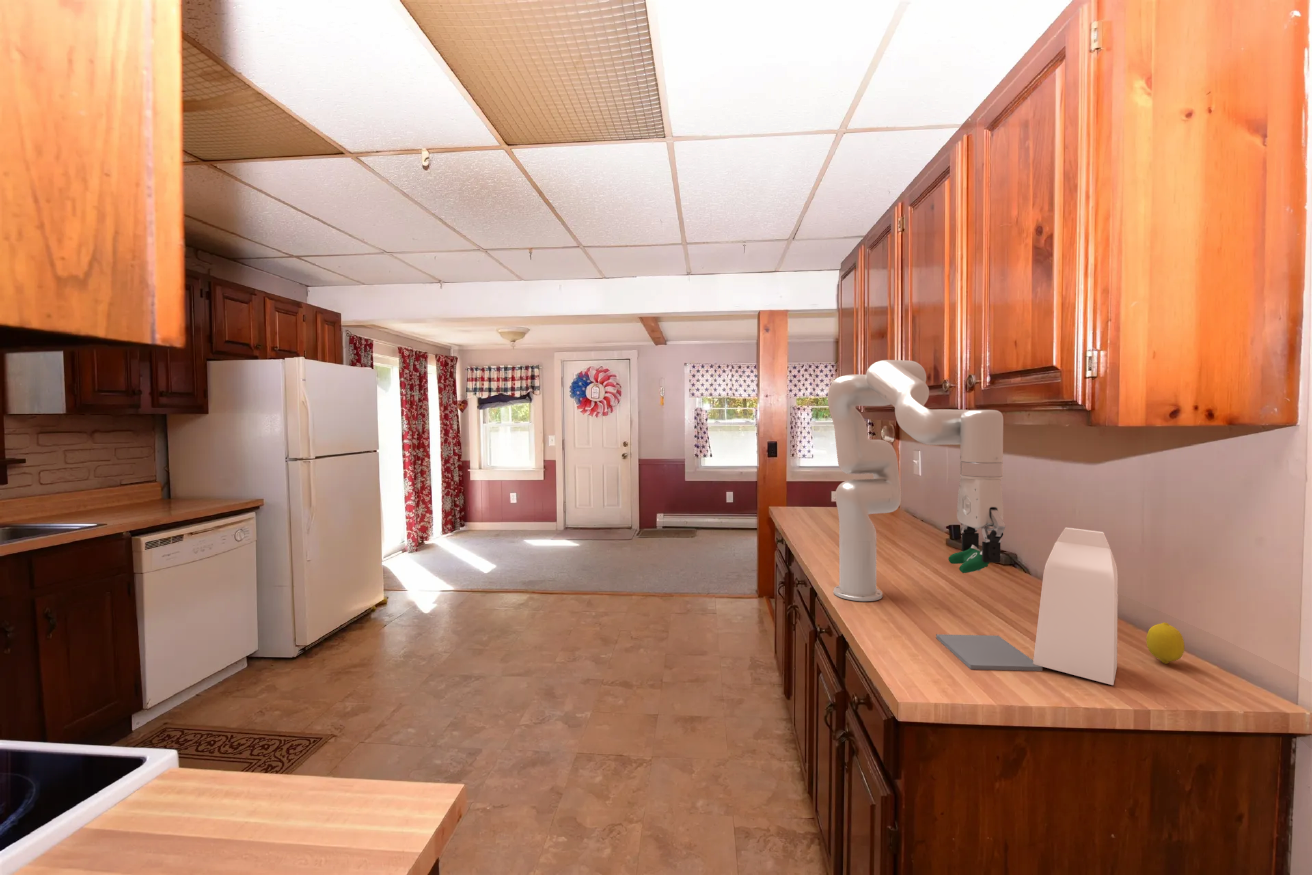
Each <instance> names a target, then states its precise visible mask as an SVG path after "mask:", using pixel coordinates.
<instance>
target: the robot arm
mask: <svg viewBox="0 0 1312 875" xmlns="http://www.w3.org/2000/svg"><path fill="white" fill-rule="evenodd" d="M926 381H927V373H926V371H925V368H924V367H923V366H922V365H921V364H920V363H918V362H917V361H914V360H901V359H883V360H882V359H881V360H878V361H875V362H873V363H872V364H871V365H870V366H869V367H868V369H867V370H866V373H865V374H846V375H841V376H838V377H836V378H835V379H834V380H832V382H831V384H830V386H829V388H828V392H827V406H828V410H829V414H830V416H831V419H832V423H833V428H834V429H833V430H834V436H835V437H834V438H835V447H836V457H837V458H836V459H837V464H838V468H839V469H840V471H841V472H842V473H844V474H846V475H872V478H858V479H857V478H855V479H848V480H845V481H843V482H841V483H840V484H839V485H838V486H837V488H836V489H835V496H834V497H835V503H836V509H837V514H838V526H839V528H838V530H839V533H838V535H839V536H838V538H839V541H838V542H839V545H838V546H839V547H838V548H839V552H838V553H839V554H838V555H839V558H838V560H839V571H838V572H839V585H836V586H835V587H833V594H834V595H835V596H836V597H838V598H841V599H844V600H849V601H855V602H874V601H875V602H876V601H878V600H881V599H882V598H883V592H882V590H880V589H879V588H877V530H876V527H875V525H874V523H873V521H872V520H871V518H870V516H869V515H872V514H873V515H875V514H887V513H893V512H895V511H896V510H898V509H899V507H900V505H901V502H902V489H901V480H900V472H899V470H900V469H899V463H898V462H899V461H898V456H897V453H896V450H895V449H894V446H893V445H892V444H891V443H890V442H888V441H887V440H883V439H870V438H869V435H868V426H867V422H866V420H865V418H864V417H863V415H862V414H861V412H860V411H859V410H858V409H857V408H856V407H858V406H859V407H885V406H890V405H891V406H893V407H894V413H895V419H896V422H897V424H898V426H899V427H900V429H901V430H903V431H904V433H906V434H907V435H908V436H910V437H911V439H913V440H915V441H917V442H918V443H921V444H924V445H928V446H929V445H930V446H935V445H937V446H938V445H942V446H943V445H952V446H953V445H955V446H956V445H957V446H958V445H960V447H959V448H960V449H959V450H960V453H959V457H960V458H959V459H960V461H959V462H960V463H959V478H960V479H959V486H958V492H957V494H958V495H957V504H956V505H957V506H956V518H957V521H958V523H960V524H961V528H960V530H961V552H962V551H966V550H968V549H969V548H970V547H972V545H974V546H975V547H977V549H979V550H980V548H979V544H980V543H979V542H980V535H979V534H980V533H979V532H978V530H981V534H982V536H983V539H984V540H983V541H982V542H981V551H982V561H983V562H986V563H989V564H991V563H992V564H994V563H996V564H999V563H1000V562H1001V543H1002V542H1003V536H1004V531H1005V529H1006V523H1005V522H1004V501H1003V487H1002V480H1003V479H1004V477H1003V476H1004V475H1003V474H1004V462H1003V461H1004V460H1003V458H1004V416H1003V413H1002V412H1001V411H999V410H997V409H970V410H969V409H949V408H947V409H944V408H943V409H939V408H937V409H930V408H927V407H926V406H925V404H926V403H927V402H928V399H929V396H930V388H929V386H928V384H927V383H926Z"/></svg>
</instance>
